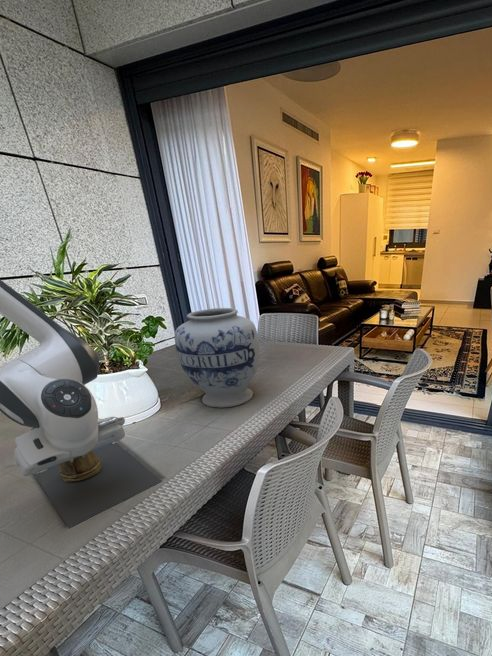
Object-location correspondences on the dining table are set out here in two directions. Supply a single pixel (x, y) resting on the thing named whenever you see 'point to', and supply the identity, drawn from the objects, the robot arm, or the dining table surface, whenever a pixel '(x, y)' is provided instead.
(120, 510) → the dining table surface
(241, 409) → the dining table surface
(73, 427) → the robot arm
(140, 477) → the plate
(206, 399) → the apothecary jar
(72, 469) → the wooden mug
